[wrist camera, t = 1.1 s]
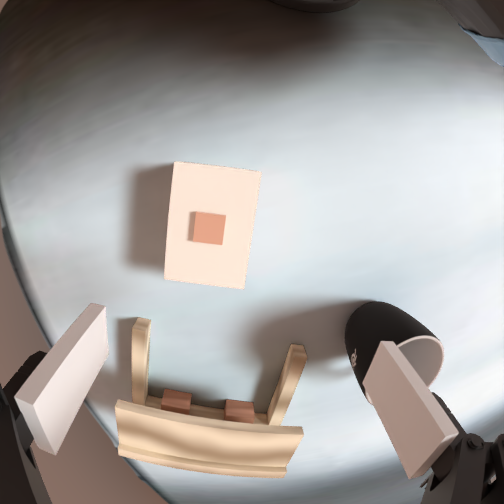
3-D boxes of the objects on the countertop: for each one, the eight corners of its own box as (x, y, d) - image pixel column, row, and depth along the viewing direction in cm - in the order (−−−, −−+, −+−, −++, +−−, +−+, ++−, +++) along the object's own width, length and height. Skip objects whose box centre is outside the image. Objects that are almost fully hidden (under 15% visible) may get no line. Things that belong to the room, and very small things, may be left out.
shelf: (138, 317, 32) (108, 371, 22) (303, 345, 34) (324, 403, 24) (137, 400, 35) (119, 455, 26) (274, 421, 37) (283, 477, 28)
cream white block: (184, 161, 28) (173, 161, 22) (257, 170, 28) (262, 172, 23) (174, 261, 30) (162, 281, 25) (242, 269, 31) (244, 291, 26)
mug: (323, 315, 33) (353, 370, 23) (391, 277, 32) (439, 317, 22) (354, 380, 36) (381, 434, 26) (411, 348, 35) (449, 393, 26)
